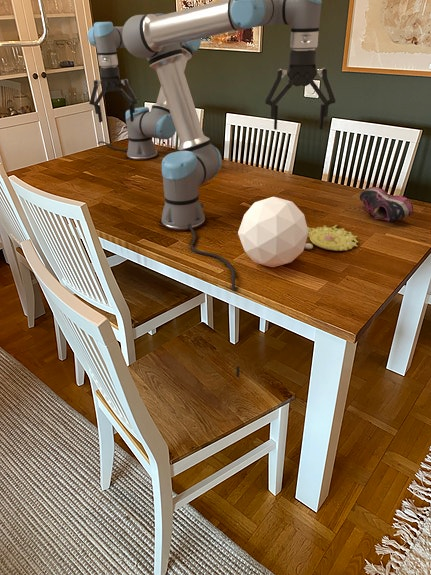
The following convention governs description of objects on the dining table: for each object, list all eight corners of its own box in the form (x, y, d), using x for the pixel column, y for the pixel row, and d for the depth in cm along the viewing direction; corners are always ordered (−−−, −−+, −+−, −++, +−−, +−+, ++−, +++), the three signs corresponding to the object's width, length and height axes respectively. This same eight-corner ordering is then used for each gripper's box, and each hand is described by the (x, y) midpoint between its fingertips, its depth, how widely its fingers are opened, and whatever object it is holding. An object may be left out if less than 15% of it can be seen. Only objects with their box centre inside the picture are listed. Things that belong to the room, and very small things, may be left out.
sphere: (280, 289, 130) (288, 262, 111) (225, 253, 134) (224, 221, 116) (315, 241, 135) (328, 208, 116) (260, 208, 139) (265, 171, 121)
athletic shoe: (369, 185, 163) (343, 194, 159) (416, 181, 144) (388, 190, 140) (374, 215, 166) (349, 224, 162) (420, 215, 146) (393, 225, 143)
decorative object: (343, 255, 128) (285, 234, 139) (342, 262, 130) (284, 241, 140) (372, 230, 142) (317, 213, 152) (371, 237, 143) (316, 219, 153)
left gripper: (75, 68, 176) (85, 124, 187) (138, 66, 175) (144, 122, 186) (80, 66, 182) (90, 120, 193) (141, 64, 181) (146, 118, 192)
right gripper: (258, 51, 121) (256, 131, 132) (351, 49, 119) (341, 131, 130) (258, 49, 127) (256, 125, 138) (347, 47, 125) (337, 125, 136)
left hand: (116, 121), depth 190 cm, fingers open, 13 cm apart
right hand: (297, 128), depth 134 cm, fingers open, 13 cm apart
